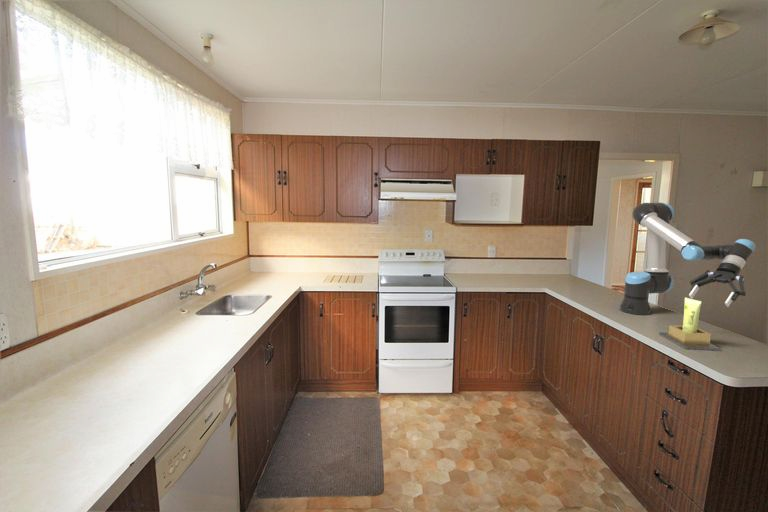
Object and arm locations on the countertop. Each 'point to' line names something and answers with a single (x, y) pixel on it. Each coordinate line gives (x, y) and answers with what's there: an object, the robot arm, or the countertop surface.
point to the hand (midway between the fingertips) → (707, 300)
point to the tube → (691, 315)
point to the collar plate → (690, 339)
